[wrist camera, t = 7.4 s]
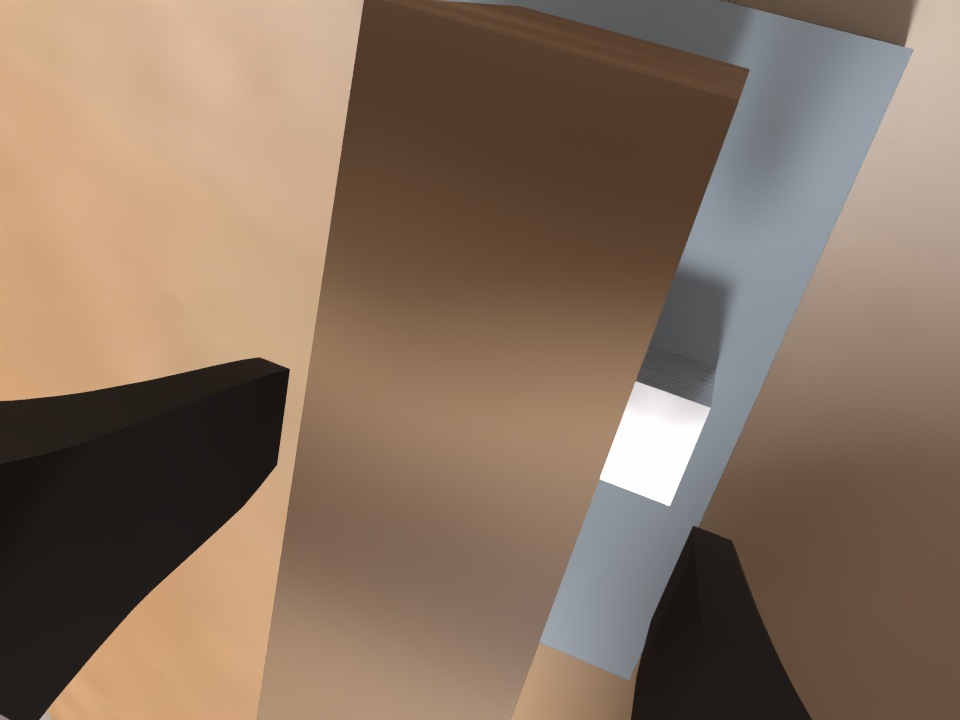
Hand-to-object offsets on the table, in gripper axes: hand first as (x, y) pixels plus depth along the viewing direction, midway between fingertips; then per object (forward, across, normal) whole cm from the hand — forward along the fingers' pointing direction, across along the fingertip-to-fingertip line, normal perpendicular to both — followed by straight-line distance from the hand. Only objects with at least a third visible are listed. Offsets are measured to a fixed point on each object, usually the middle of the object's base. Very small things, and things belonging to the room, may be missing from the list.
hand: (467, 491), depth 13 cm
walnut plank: (+4, 0, 0) cm, 4 cm away
